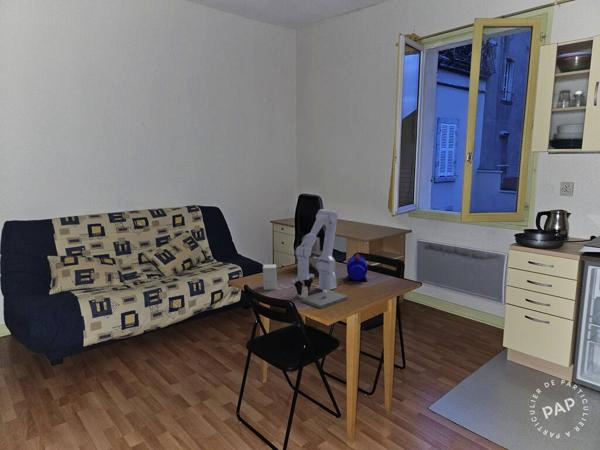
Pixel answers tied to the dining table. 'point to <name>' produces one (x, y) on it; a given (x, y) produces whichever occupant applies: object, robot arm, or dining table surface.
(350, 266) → the alarm clock
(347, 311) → the dining table surface
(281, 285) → the dining table surface
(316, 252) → the juicer
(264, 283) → the supplement box
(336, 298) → the post board
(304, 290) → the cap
